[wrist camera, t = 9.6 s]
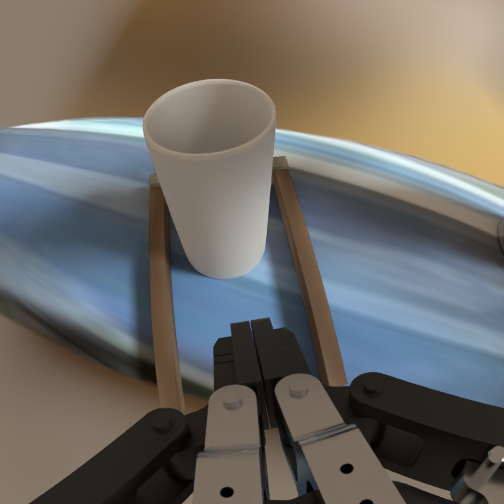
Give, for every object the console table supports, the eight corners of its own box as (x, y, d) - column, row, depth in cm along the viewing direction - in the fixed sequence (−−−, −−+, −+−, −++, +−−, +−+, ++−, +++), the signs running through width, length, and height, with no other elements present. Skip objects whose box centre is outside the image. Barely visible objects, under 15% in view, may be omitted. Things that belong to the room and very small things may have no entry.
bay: (282, 174, 36) (285, 156, 33) (339, 385, 24) (349, 383, 22) (156, 191, 34) (149, 174, 32) (169, 413, 23) (159, 414, 21)
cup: (263, 282, 29) (275, 159, 15) (178, 276, 29) (123, 157, 15) (267, 211, 33) (277, 80, 19) (191, 207, 33) (162, 80, 19)
